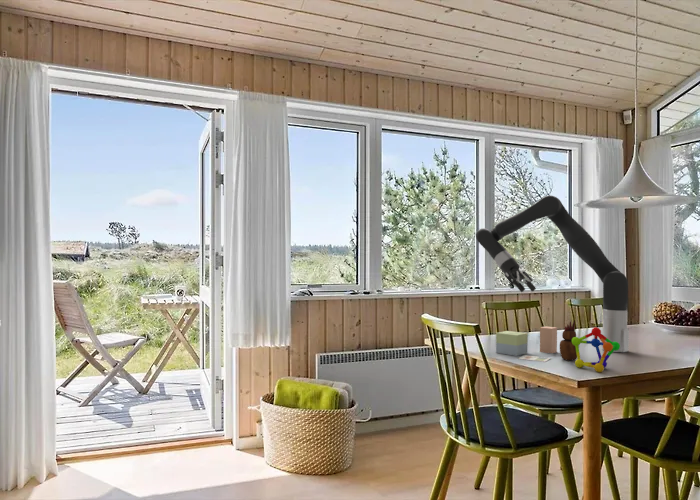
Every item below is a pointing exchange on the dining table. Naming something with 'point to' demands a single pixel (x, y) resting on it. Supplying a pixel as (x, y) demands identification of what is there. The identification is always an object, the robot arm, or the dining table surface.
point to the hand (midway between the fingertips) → (528, 290)
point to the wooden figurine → (568, 343)
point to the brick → (548, 339)
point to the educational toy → (595, 342)
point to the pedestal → (511, 343)
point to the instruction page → (534, 358)
